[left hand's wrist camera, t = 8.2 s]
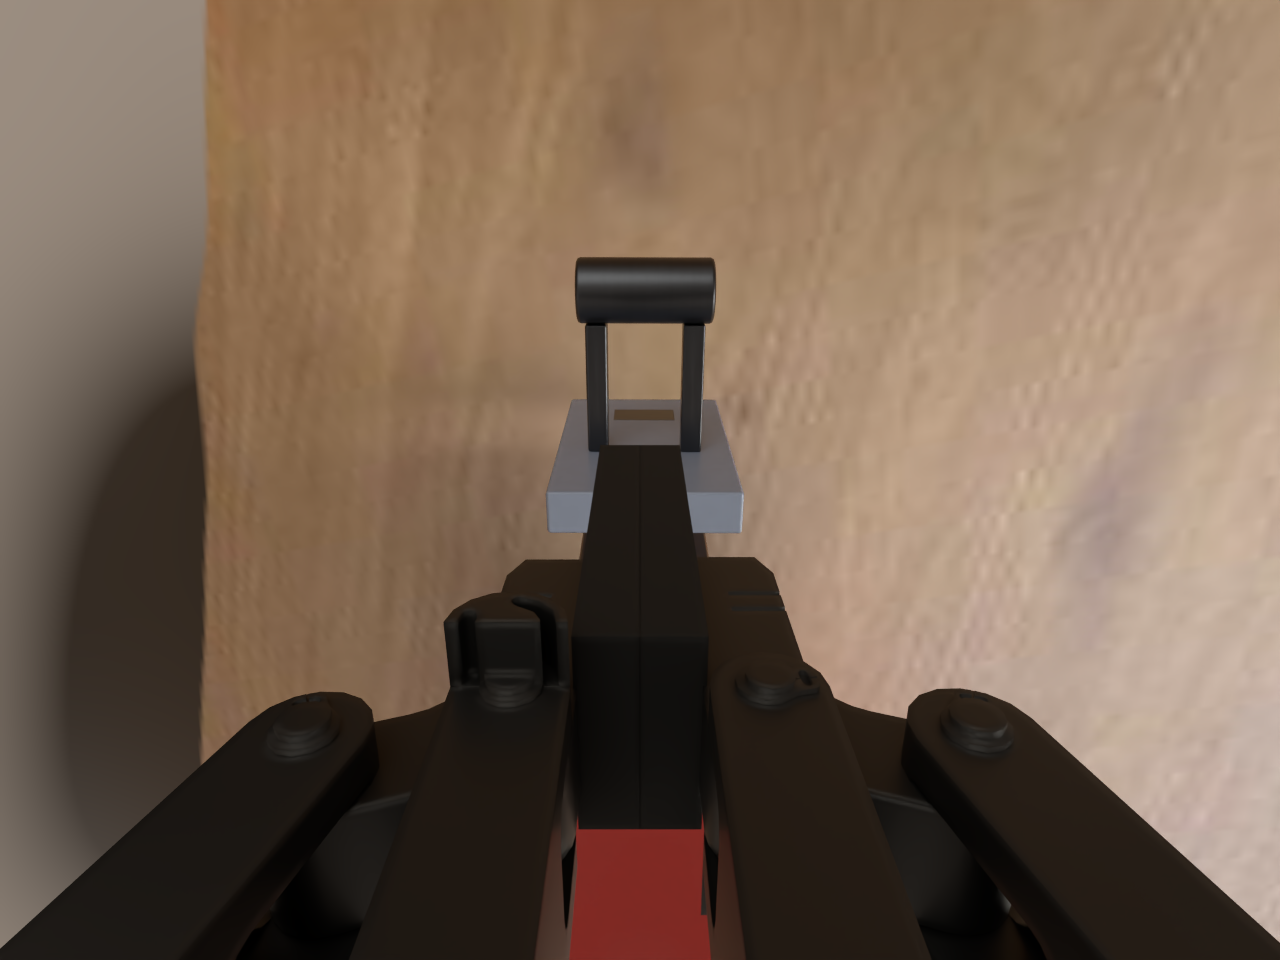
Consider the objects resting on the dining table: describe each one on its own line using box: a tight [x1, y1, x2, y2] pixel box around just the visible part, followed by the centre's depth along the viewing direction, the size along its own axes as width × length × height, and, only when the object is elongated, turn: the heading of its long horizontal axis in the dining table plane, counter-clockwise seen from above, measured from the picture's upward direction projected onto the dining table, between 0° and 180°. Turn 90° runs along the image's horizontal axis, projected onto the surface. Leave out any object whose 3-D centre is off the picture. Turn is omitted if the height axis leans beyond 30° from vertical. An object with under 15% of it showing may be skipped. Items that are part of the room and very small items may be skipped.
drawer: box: [546, 257, 744, 560], centre depth 26 cm, size 23×5×8 cm, turn 0°
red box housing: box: [569, 815, 711, 960], centre depth 31 cm, size 19×6×10 cm, turn 0°
